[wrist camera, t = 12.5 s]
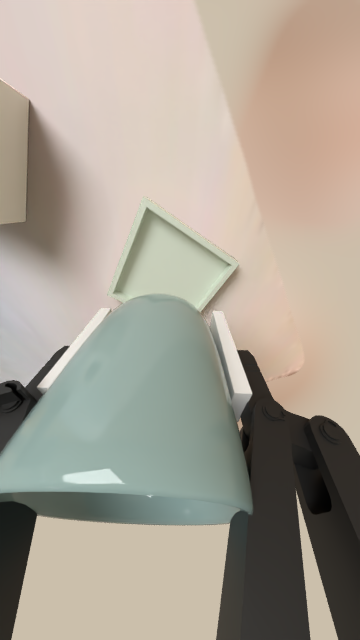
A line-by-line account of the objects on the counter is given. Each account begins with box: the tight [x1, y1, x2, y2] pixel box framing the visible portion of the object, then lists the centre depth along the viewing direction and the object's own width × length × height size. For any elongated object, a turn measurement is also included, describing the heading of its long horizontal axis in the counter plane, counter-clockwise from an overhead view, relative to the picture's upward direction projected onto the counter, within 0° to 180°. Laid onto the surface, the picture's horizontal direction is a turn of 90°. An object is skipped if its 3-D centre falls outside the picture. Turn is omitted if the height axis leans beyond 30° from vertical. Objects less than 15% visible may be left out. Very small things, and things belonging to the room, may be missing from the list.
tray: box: [107, 196, 239, 312], centre depth 21 cm, size 12×12×2 cm
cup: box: [0, 293, 254, 525], centre depth 9 cm, size 8×8×10 cm
